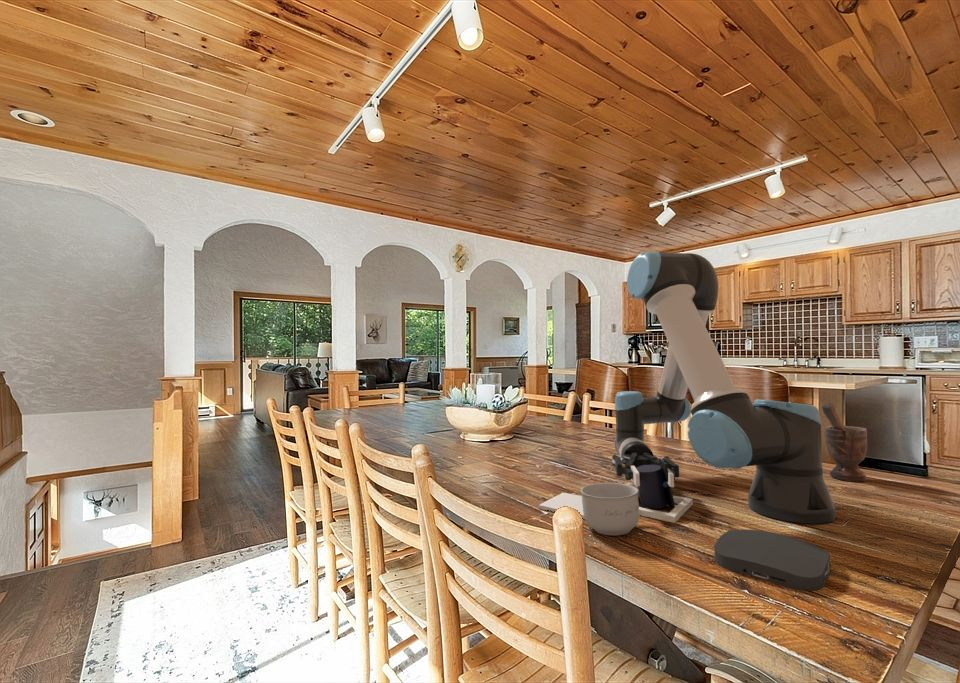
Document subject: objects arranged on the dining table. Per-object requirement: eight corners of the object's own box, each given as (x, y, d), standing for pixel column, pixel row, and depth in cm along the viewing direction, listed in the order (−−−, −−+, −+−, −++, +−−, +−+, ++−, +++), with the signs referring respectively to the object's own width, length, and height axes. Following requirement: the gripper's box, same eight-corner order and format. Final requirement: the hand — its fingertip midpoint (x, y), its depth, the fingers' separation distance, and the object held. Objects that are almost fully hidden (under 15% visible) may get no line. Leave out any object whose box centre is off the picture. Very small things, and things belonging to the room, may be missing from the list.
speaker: (677, 503, 100) (671, 457, 101) (675, 513, 95) (668, 464, 95) (642, 502, 104) (636, 457, 104) (638, 511, 99) (631, 464, 99)
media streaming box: (733, 538, 83) (733, 521, 83) (834, 562, 73) (833, 543, 73) (707, 566, 72) (707, 547, 72) (821, 599, 62) (820, 577, 62)
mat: (606, 504, 101) (606, 501, 101) (584, 519, 93) (584, 515, 93) (563, 495, 108) (563, 492, 108) (538, 508, 100) (538, 505, 100)
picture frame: (692, 504, 100) (692, 498, 100) (674, 522, 90) (674, 516, 90) (633, 493, 109) (632, 488, 109) (610, 509, 98) (609, 503, 98)
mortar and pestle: (864, 487, 109) (860, 405, 109) (820, 480, 115) (816, 402, 116) (871, 478, 117) (868, 401, 117) (830, 472, 123) (827, 399, 124)
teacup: (609, 546, 80) (607, 500, 80) (570, 526, 89) (569, 485, 90) (664, 530, 86) (662, 488, 86) (622, 513, 96) (620, 475, 96)
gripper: (675, 470, 115) (704, 499, 93) (598, 468, 119) (608, 496, 96) (674, 441, 116) (702, 463, 93) (597, 440, 119) (607, 461, 96)
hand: (654, 480), depth 94 cm, fingers closed on speaker, 6 cm apart
